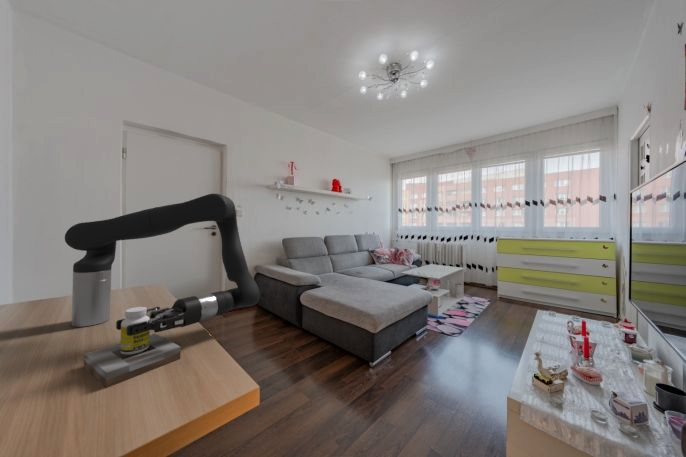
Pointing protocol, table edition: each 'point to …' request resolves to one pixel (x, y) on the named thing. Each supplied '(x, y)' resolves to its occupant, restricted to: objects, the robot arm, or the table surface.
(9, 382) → the table surface
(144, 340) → the supplement bottle
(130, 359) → the mount block
